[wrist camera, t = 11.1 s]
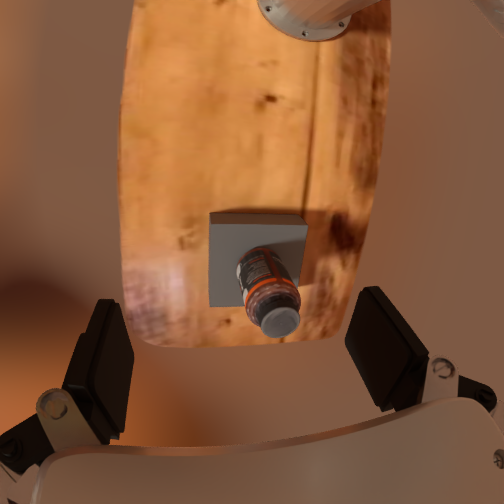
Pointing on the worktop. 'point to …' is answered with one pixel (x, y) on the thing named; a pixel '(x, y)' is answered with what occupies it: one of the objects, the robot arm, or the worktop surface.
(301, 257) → the pedestal
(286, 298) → the supplement bottle
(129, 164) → the worktop surface
